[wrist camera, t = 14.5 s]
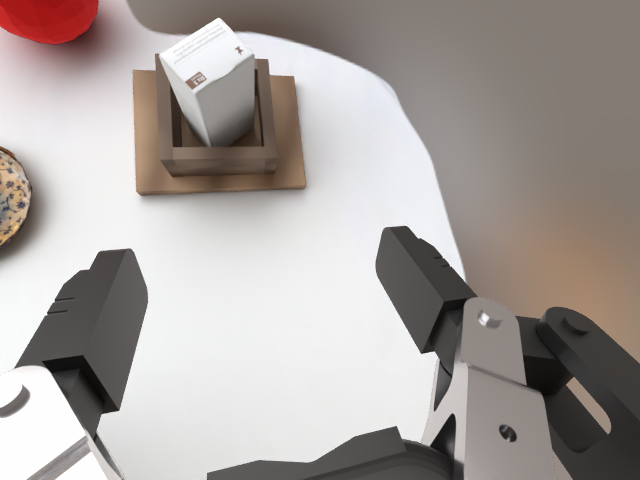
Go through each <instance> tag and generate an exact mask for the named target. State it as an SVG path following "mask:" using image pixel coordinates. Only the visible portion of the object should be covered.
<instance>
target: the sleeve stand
mask: <svg viewBox="0 0 640 480" xmlns="http://www.w3.org/2000/svg"><path fill="white" fill-rule="evenodd" d="M159 55H160V54H155V61H156V71H149V70H133V95H134V130H135V165H136V192H137V193H138V194H140V195H156V194H180V193H204V192H228V191H252V190H277V189H301V188H305V186H306V183H305V173H304V164H303V155H302V146H301V136H300V127H299V118H298V109H297V100H296V90H295V81H294V76H273V75H270V74H269V64H268V59H254V128H253V129H251V130H250V131H249V132H247V133H246V134H245V135H243V136H242V137H241V138H239V139H238V140H237V141H235V142H234V143H232V144H231V145H230V146H228V147H206V146H205V145H204V144H203V143H202V142H201V141H200V140H199V139H198V138H197V137H196V135H195V134H194V133H193V132H192V131H191V130H190V129H189V126H188V124H187V122H186V119H185V117H184V115H183V112H182V110H181V107H180V105H179V103H178V100H177V98H176V96H175V93H174V91H173V89H172V86H171V84H170V81H169V79H168V77H167V75H166V72H165V70H164V68H163V65H162V63H161V60H160V58H159Z"/></svg>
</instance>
